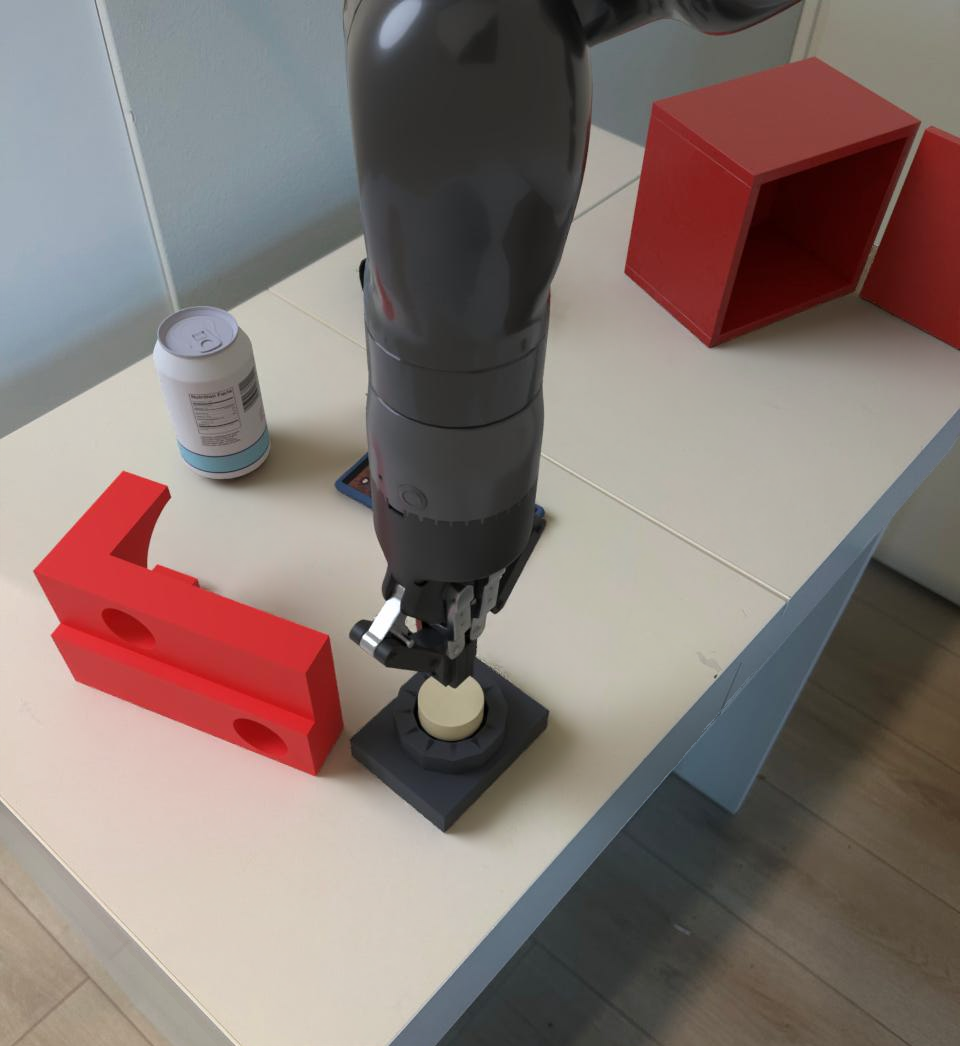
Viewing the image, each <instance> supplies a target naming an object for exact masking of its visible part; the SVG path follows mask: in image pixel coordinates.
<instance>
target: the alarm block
mask: <svg viewBox="0 0 960 1046" xmlns="http://www.w3.org/2000/svg"><path fill="white" fill-rule="evenodd" d="M470 676H471V677H472V678H474V679H475V680H476V681H477V682H478V683H479V685H480V686H481V688H482V690H483V693H484V711H483V719H482V722H481V725H480V726H479V728H478V729H477V730H476V731H475V732H474V733H473V734H472V735H470V736H469V737H467V738H465V739H462V740H458V741H444V740H440V739H437V738H435V737H433V736H432V735H430V734H429V733H428V732H426V730H425V729H424V728H423V727H422V725H421V723H420V720H419V715H418V694H419V691H420V688H421V686H422V685H423V684H424V682H425V681H426V680H427V679H429V678H430V677H431V676H430V675H429V674H428V673H424V672H417V671H416V673H415V674H413V675H412V676H410V678H409V679H408V680H407V681H406V682H404V684H402V685H400V687H399V689H398V693H397V696H395V697H394V698H393V699H392V700H391V701H390V702H388V704H387V705H385V706H384V707H383V708H382V709H381V710H379V712H378V713H376V714H375V715H374V716H373V717H372V718H371V719H370V720H369V721H367V722H366V723H365V724H364V725H363V726H362V727H361V728H360V729H359V730H358V731H357V732H356V733H354V734H353V735H352V736H351V737H350V738H349V746H350V754H351V757H352V758H353V759H354V760H355V761H356V762H358V763H359V764H360V765H362V766H363V767H364V768H365V769H366V770H368V771H369V772H370V773H372V775H374V776H375V777H376V778H377V779H378V780H380V781H381V782H382V783H383V784H385V785H386V786H387V787H388V788H389V789H390V790H392V791H393V792H394V793H395V794H396V795H398V796H399V798H401V799H402V800H403V801H405V802H406V803H407V804H408V805H410V807H412V808H413V809H414V810H415V811H417V812H418V813H419V814H421V815H422V816H423V817H424V818H425V819H426V820H427V821H429V822H430V823H431V824H432V825H434V826H435V827H436V828H437V829H438V830H440V831H441V832H442V833H443V834H445V833H447V832H448V831H449V830H450V828H452V827H453V825H454V824H455V823H456V822H457V821H458V820H459V819H460V818H461V817H462V816H463V815H464V814H465V813H466V812H467V811H468V810H469V809H470V808H471V807H472V806H473V805H474V804H475V803H476V802H477V801H478V800H479V799H480V797H481V796H482V795H484V793H485V792H486V791H488V789H489V788H490V787H492V785H493V784H494V783H496V781H497V780H498V779H499V778H500V777H501V776H502V775H503V774H504V773H505V772H506V771H507V770H508V769H509V768H510V767H511V766H512V765H513V764H514V763H515V761H517V759H519V757H520V756H522V754H523V753H524V752H525V751H526V750H527V749H528V748H529V747H530V746H531V745H532V744H533V743H534V742H535V741H536V740H537V739H538V738H539V737H540V736H541V735H542V734H543V733H544V732H545V731H546V730H547V728H548V722H549V718H550V717H549V716H550V710H549V709H548V708H546V707H545V706H544V705H543V704H541V703H540V702H538V701H537V700H535V699H534V698H533V697H532V696H530V695H528V694H527V693H526V692H525V691H523V690H522V689H521V688H519V687H518V686H516V685H515V684H514V683H513V682H511V681H509V679H507V678H506V677H504V676H503V675H501V674H500V673H499V672H497V671H496V670H494V669H493V668H492V667H490V666H489V665H488V664H486V663H485V662H484V661H482V660H481V659H479V658H478V656H476V657H475V660H474V671H473V673H472V674H471V675H470Z"/></svg>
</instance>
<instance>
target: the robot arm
mask: <svg viewBox="0 0 960 1046" xmlns="http://www.w3.org/2000/svg"><path fill="white" fill-rule="evenodd" d="M802 1H803V0H341V14H342V15H341V16H342V28H343V39H344V53H345V54H344V57H345V59H344V60H345V75H346V89H347V90H346V91H347V102H348V103H347V104H348V113H349V124H350V132H351V142H352V151H353V158H354V159H353V160H354V168H355V175H356V185H357V193H358V202H359V209H360V217H361V224H362V225H361V226H362V232H363V239H364V245H365V252H366V257H365V258H366V263H365V271H364V289H363V290H362V293H363V321H364V334H365V335H364V336H365V349H366V363H367V373H368V375H367V376H368V379H367V380H368V382H367V392H366V393H367V396H366V402H365V429H366V430H365V433H366V443H367V444H366V445H367V452H368V457H369V470H370V483H371V496H372V508H373V509H372V520H373V528H374V533H375V536H376V539H377V541H378V544H379V546H380V549H381V551H382V553H383V556H384V557H385V561H386V564H387V566H386V571H385V573H384V574H385V575H384V577H383V580H382V583H381V595H382V598H383V599H384V601H385V602H384V605H383V606H382V608H381V609H380V611H379V612H378V614H376V615H374V617H373V619H372V620H368V619H364V618H363V619H360V620H358V621H357V622H356V623H354V625H353V626H352V627H351V629H350V631H349V634H348V638H349V640H350V641H352V642H353V643H354V644H355V645H357V646H358V647H360V649H362V650H363V651H364V652H365V653H367V654H368V655H370V657H372V658H373V659H375V660H376V661H377V662H379V663H380V664H381V665H383V666H384V667H385V668H389V669H397V670H403V671H409V672H416V673H417V672H424V673H428V674H429V675H430V676H432V677H433V678H434V679H436V680H437V681H438V682H440V683H441V684H442V685H444V686H445V687H447V686H448V685H449V686H450V687H452V688H454V689H456V688H457V687H458V686H459V685H460V684H461V683H463V682H464V681H465V680H466V679H467V678H468V677H469V676H470V675H471V674H472V673H473V671H474V660H475V657H477V652H478V638H479V637H481V635H482V634H483V632H484V631H485V628H486V623H487V616H488V613H489V612H491V614H493V615H496V614H498V613H500V612H501V611H502V610H503V609H504V608H505V605H506V603H507V602H508V600H509V598H510V596H511V594H512V592H513V590H514V588H515V587H516V584H517V582H518V580H519V579H520V577H521V575H522V573H523V571H524V570H525V567H526V566H527V564H528V561H529V559H530V558H531V556H532V553H533V552H534V550H535V548H536V546H537V545H538V543H539V540H540V539H541V536H542V535H543V533H544V531H545V529H546V527H547V520H546V519H545V518H544V517H543V518H542V517H540V516H539V515H537V514H536V513H534V509H535V504H536V499H537V492H538V481H539V473H540V472H539V471H540V462H541V456H542V455H541V454H542V446H543V437H544V428H545V401H544V375H545V366H546V365H545V364H546V358H547V357H546V356H547V346H548V338H549V329H550V315H551V301H552V299H551V298H552V294H551V290H552V288H551V287H552V286H551V285H552V283H553V281H554V278H555V276H556V273H557V271H558V269H559V266H560V263H561V260H562V257H563V253H564V250H565V247H566V243H567V241H568V237H569V233H570V229H571V226H572V223H573V219H574V217H575V213H576V210H577V206H578V202H579V199H580V194H581V190H582V186H583V182H584V177H585V172H586V168H587V161H588V154H589V148H590V139H591V129H592V116H593V99H594V97H593V95H594V94H593V93H594V92H593V91H594V90H593V89H594V84H593V83H594V81H593V66H592V58H591V51H590V49H592V48H594V47H596V46H598V45H600V44H603V43H605V42H607V41H610V40H613V39H614V38H617V37H620V36H622V35H624V34H626V33H630V32H631V31H634V30H636V29H638V28H641V27H643V26H646V25H648V24H651V23H654V22H657V21H660V20H673V21H677V22H680V23H682V24H684V25H686V26H688V27H689V28H691V29H693V30H695V31H697V32H699V33H702V34H704V35H708V36H716V37H717V36H720V37H721V36H728V35H733V34H736V33H741V32H743V31H745V30H748V29H750V28H752V27H755V26H757V25H759V24H762V23H764V22H766V21H768V20H770V19H772V18H774V17H776V16H778V15H780V14H782V13H784V12H785V11H787V10H789V9H791V8H792V7H794V6H795V5H797V4H799V3H800V2H802ZM408 617H409V618H413V619H415V627H416V631H415V632H413V631H412V630H410V629H409V627H408V625H406V620H407V618H408Z"/></svg>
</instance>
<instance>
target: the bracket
mask: <svg viewBox="0 0 960 1046" xmlns="http://www.w3.org/2000/svg"><path fill="white" fill-rule="evenodd" d="M171 495H172V494H171V492H170V488H169V486H168V485H167V484H163V483H161V482H158V481H155V480H152V479H149V478H147V477H144V476H140V475H138V474H135V473H132V472H128V471H125V470H122V471H121V472H120V473H119V475H117V476H116V478H114V480H113V481H112V482H111V483H110V484H109V486H107V488H106V489H105V490H104V491H103V492H102V493H101V495H99V496H98V498H97V499H96V500H95V501H94V502H93V503H92V504H91V505H90V507H88V508H87V510H86V511H85V512H84V513H83V514H82V515H81V517H80V518H79V519H78V520H77V521H76V522H75V523H74V524H73V525H72V527H70V529H69V530H68V531H67V532H66V533H65V534H64V536H62V538H61V539H60V540H59V541H58V542H57V543H56V544H55V546H53V548H52V549H51V550H50V551H49V552H48V553H47V554H46V555H45V557H44V558H43V559H42V560H41V561H40V562H39V563H38V564H37V565H36V567H35V568H34V569H33V570H32V573H33V574H34V576H35V578H36V580H37V583H38V584H39V585H40V588H41V589H42V591H43V593H44V595H45V597H46V599H47V601H48V602H49V604H50V607H51V608H52V610H53V612H54V614H55V616H56V617H57V619H58V622H59V624H58V625H57V626H56V628H54V630H53V631H52V632H51V634H50V637H51V638H52V641H53V642H54V644H55V646H56V648H57V650H58V652H59V654H60V655H61V657H62V659H63V661H64V663H65V665H66V666H67V668H68V670H69V672H70V673H71V674H70V675H72V677H73V679H74V681H75V682H78V683H81V684H83V685H85V686H88V687H90V688H93V689H96V690H98V691H100V692H103V693H106V694H108V695H110V696H113V697H116V698H118V699H120V700H123V701H124V702H125V701H126V702H128V703H130V704H133V705H136V706H138V707H140V708H143V709H145V710H149V711H151V712H153V713H156V714H157V715H160V716H162V717H166V718H168V719H170V720H173V721H176V722H178V723H181V724H183V725H186V726H189V727H191V728H193V729H196V730H198V731H200V732H202V733H203V732H204V733H206V734H208V735H211V736H213V737H216V738H218V739H220V740H224V741H226V742H229V743H231V744H233V745H236V746H238V747H240V748H244V749H246V750H249V751H251V752H254V753H256V754H259V755H261V756H263V757H265V758H268V759H271V760H273V761H275V762H277V763H281V764H283V765H285V766H289V767H290V768H293V769H295V770H296V769H297V770H298V771H301V772H303V773H306V774H309V775H311V776H314V777H317V776H318V774H319V772H320V771H321V769H322V767H323V765H324V763H325V762H326V760H327V759H328V757H329V755H330V753H331V751H332V750H333V748H334V746H335V745H336V743H337V741H338V739H339V738H340V736H341V734H342V732H343V731H344V729H345V725H344V718H343V712H342V706H341V699H340V693H339V686H338V680H337V674H336V668H335V661H334V656H333V649H332V643H331V638H330V637H331V636H330V635H329V634H326V633H324V632H322V631H319V630H316V629H314V628H311V627H308V626H305V625H302V624H301V623H297V622H295V621H291V620H289V619H286V618H284V617H281V616H278V615H275V614H273V613H269V612H267V611H265V610H262V609H258V608H257V607H254V606H251V605H248V604H246V603H242V602H240V601H237V600H235V599H231V598H229V597H227V596H223V595H220V594H218V593H215V592H212V591H211V590H210V591H209V590H207V589H204V588H202V587H201V586H200V583H199V580H198V578H197V577H194V576H191V575H189V574H187V573H183V572H180V571H178V570H174V569H172V568H170V567H167V566H164V565H162V564H159V563H157V564H155V566H154V567H153V568H152V569H149V568H148V567H149V566H148V558H149V551H150V550H149V549H150V545H151V539H152V536H153V533H154V530H155V528H156V524H157V523H158V521H159V518H160V516H161V515H162V513H163V510H164V508H165V507H166V506H167V504H168V502H169V501H170V500H171V499H172V496H171Z"/></svg>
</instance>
